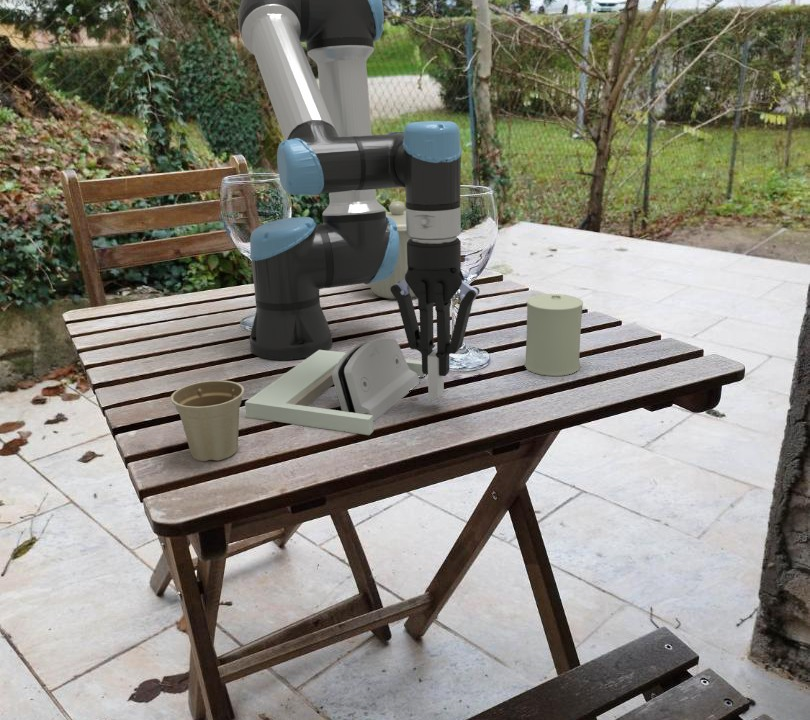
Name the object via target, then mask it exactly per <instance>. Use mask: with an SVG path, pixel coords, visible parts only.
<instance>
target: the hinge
mask: <svg viewBox="0 0 810 720" xmlns="http://www.w3.org/2000/svg"><path fill="white" fill-rule="evenodd" d="M345 353H346V354H345V355H344V356H343V357H342V358H341V359H340V361H339V362H338V363H337V365H336V366H335V368H334V370H333V372H332V378H333V382H334V384H333V385H334V388H335V389H334V390H335V391H336V395H337V398H338V402H339V406H340V409H341V410H340V411H345V412H352V413H359V414H367V415H373V421H374V422H375V421H376V420H378V419H379V418H380V417H382V416H383V414H385V413H386V412H387V411H389V410H390V409H391V408H392V407H393V406H395V405H396V404H397V403H399V401H401V400H402V399H403V398H404V397H406V396H407V395H408V394H409V393H410V392H411V391H410V389H411V388H413V387H414V386H415V385H417V384H418V383H419V382H420V383H421V381H420V378H419V377H418V375H417V373H416V372H414V371H412V370H410V369H409V367H408V365H407V362H406V360H405V359H406V358H405V356H404V354H403V351H402V349H401V347H400V345H399V343H398V341H397V339H396V338H377V339H372V340H368V341H364V342H362V343H360V344H358V345H356V346H354V347H353V348H351V349H350V350H348V351H347V352H345ZM409 391H410V392H409ZM378 417H379V418H378Z"/></svg>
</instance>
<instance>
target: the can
mask: <svg viewBox="0 0 810 720" xmlns="http://www.w3.org/2000/svg"><path fill="white" fill-rule="evenodd" d="M583 306H584V302H583V300H582V298H579V297H576V296H573V295H570V294H569V295H568V294H563V293H561V294H560V293H543V294H537V295H534V296H530V297H529V298H527V300H526V339H525V341H526V342H525V343H526V344H525V345H526V347H525V359H524V360H525V361H524V368H525V367H526V368H525V369H526V370H527V371H529V372H530V371H531V373H533V374H535V373H536V375H539V374H540V375H541V376H544V375H546V376H545V377H563V376H564V375H565V376H569V374H570V375H573V374H575V373H577V372H578V371H580V367H581V366H580V349H581V347H580V346H581V333H582V332H581V330H582V316H583V315H582V314H583ZM576 371H577V372H576ZM574 372H575V373H574ZM572 373H573V374H572Z"/></svg>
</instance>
